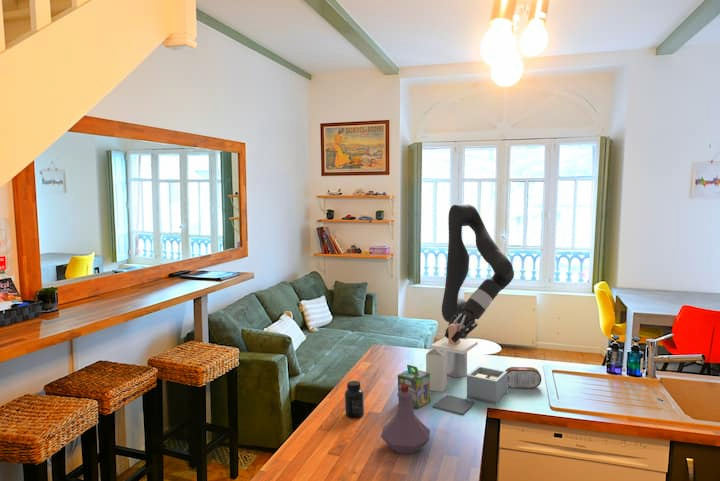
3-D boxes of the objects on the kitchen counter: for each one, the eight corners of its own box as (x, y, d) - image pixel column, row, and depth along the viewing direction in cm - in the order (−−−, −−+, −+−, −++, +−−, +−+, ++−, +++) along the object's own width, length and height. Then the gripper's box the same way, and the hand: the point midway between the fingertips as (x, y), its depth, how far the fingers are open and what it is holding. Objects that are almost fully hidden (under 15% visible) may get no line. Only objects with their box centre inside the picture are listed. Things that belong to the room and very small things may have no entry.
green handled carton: (431, 401, 186) (430, 364, 185) (416, 409, 180) (416, 371, 178) (411, 395, 193) (411, 359, 191) (397, 403, 186) (396, 365, 185)
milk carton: (426, 390, 197) (425, 344, 196) (430, 383, 204) (429, 339, 202) (443, 392, 195) (443, 346, 193) (447, 385, 201) (446, 341, 200)
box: (466, 397, 190) (466, 375, 189) (478, 387, 199) (478, 365, 198) (496, 404, 182) (496, 381, 182) (507, 393, 192) (507, 371, 191)
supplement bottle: (366, 411, 179) (365, 380, 178) (360, 420, 173) (359, 387, 172) (349, 409, 181) (348, 378, 180) (342, 417, 175) (341, 385, 174)
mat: (432, 407, 182) (432, 405, 182) (447, 396, 191) (446, 394, 191) (462, 415, 175) (462, 413, 174) (475, 403, 184) (475, 401, 184)
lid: (430, 348, 179) (430, 326, 179) (446, 339, 190) (446, 318, 189) (463, 354, 172) (463, 331, 171) (477, 344, 182) (477, 323, 181)
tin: (540, 386, 198) (540, 366, 198) (542, 389, 195) (542, 369, 195) (502, 386, 200) (502, 366, 199) (504, 389, 197) (504, 369, 196)
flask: (439, 456, 148) (439, 393, 146) (387, 463, 144) (386, 399, 142) (421, 431, 164) (420, 373, 162) (374, 437, 160) (373, 378, 158)
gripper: (461, 294, 188) (434, 328, 185) (482, 301, 175) (453, 338, 172) (473, 306, 190) (446, 339, 188) (494, 314, 177) (466, 350, 174)
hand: (449, 338), depth 180 cm, fingers closed on lid, 4 cm apart
